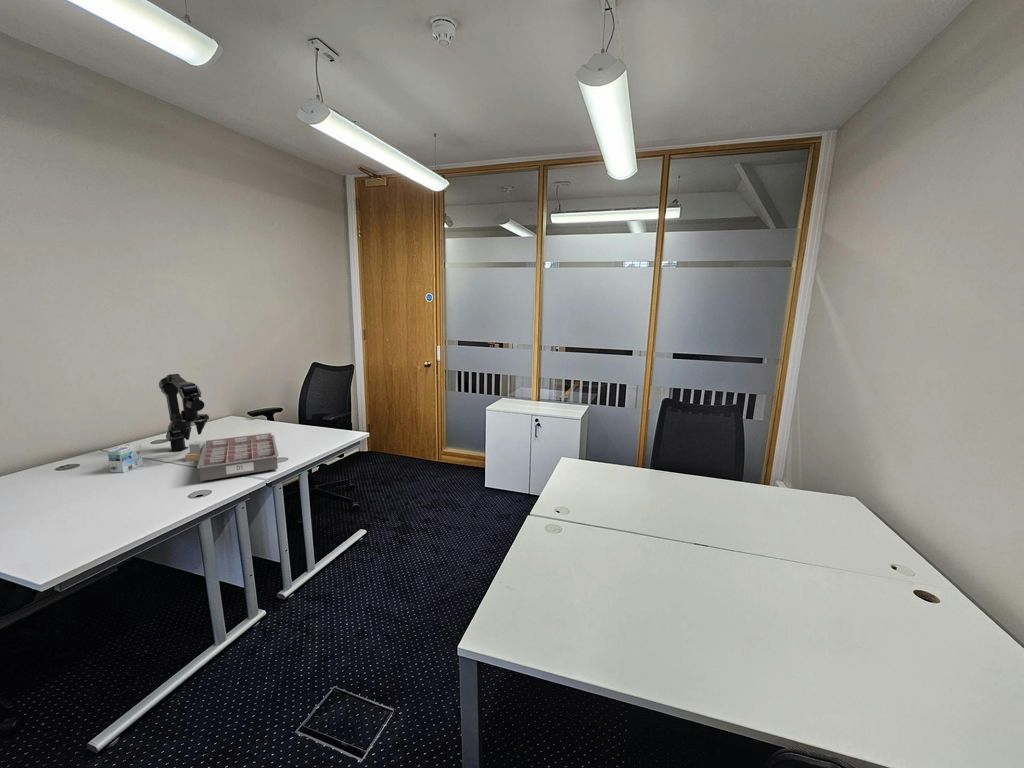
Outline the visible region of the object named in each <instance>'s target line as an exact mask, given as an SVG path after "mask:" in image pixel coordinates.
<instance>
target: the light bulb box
mask: <svg viewBox="0 0 1024 768" xmlns="http://www.w3.org/2000/svg"><path fill="white" fill-rule="evenodd" d="M142 456H143V455H142V448H141V444H131V443H130V444H126V445H122V446H119V447H116V448H114V449H110V450H107V458H108V462H109V463H108V464H109V469H110V470H109V471H110V473H123V474H124V473H126V472H129V471H131V470H135V469H137V468H139V467H142V466H144V464H143V463H144V462H143V457H142Z"/></svg>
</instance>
